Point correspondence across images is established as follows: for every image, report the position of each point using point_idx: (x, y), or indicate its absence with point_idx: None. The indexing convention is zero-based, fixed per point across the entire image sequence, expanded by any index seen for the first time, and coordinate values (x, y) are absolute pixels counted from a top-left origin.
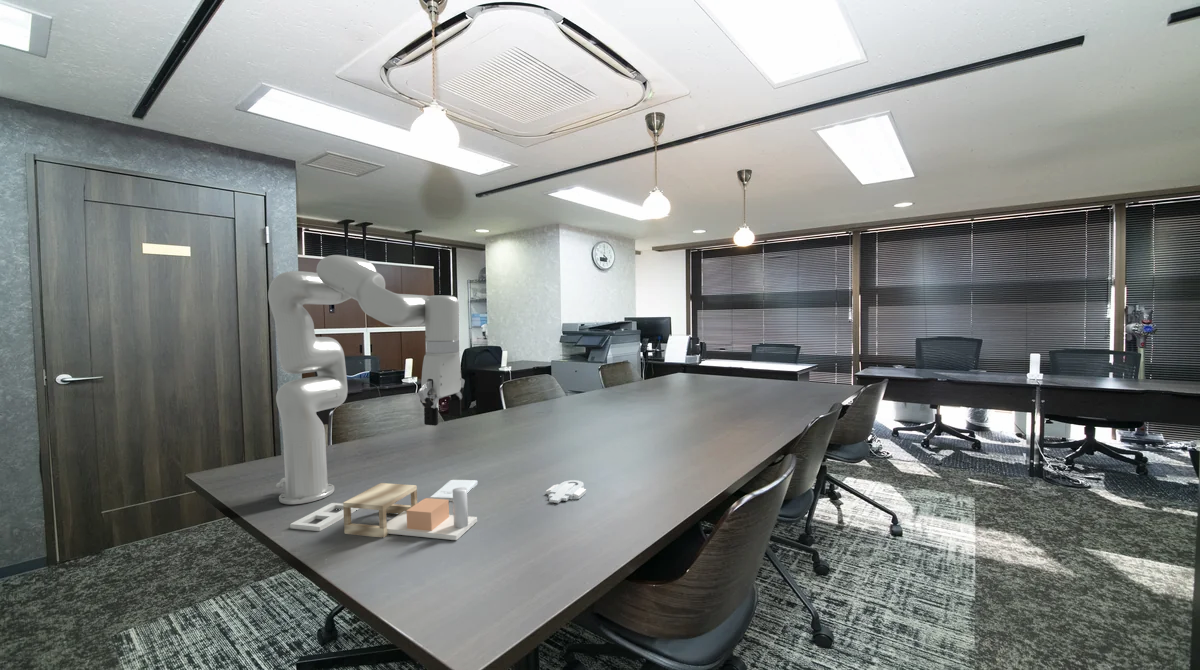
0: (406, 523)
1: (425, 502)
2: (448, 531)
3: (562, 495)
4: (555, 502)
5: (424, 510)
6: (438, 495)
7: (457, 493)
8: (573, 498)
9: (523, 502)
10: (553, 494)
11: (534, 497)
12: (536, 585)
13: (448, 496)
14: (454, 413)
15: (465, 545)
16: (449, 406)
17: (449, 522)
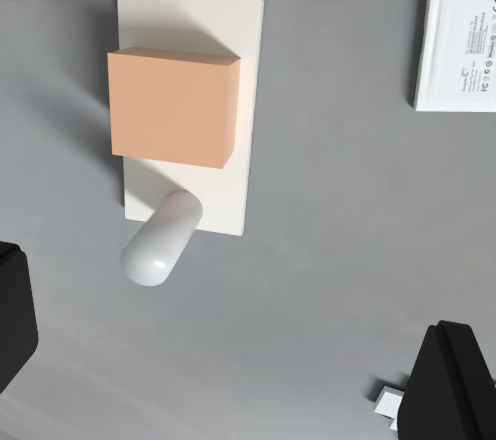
0: (166, 20)
1: (186, 90)
2: (142, 188)
3: None
4: (376, 400)
5: (122, 123)
6: (451, 2)
7: (122, 262)
8: None
9: (392, 319)
10: None
11: None
12: (27, 391)
13: (434, 57)
14: (415, 393)
15: (118, 240)
16: (450, 414)
17: (195, 168)
